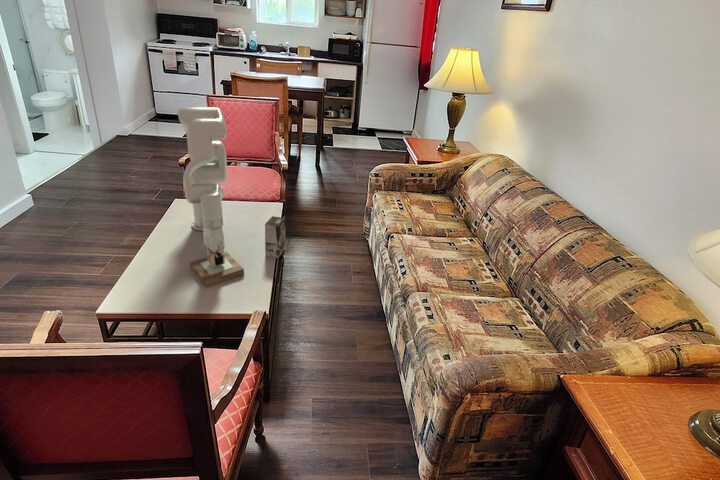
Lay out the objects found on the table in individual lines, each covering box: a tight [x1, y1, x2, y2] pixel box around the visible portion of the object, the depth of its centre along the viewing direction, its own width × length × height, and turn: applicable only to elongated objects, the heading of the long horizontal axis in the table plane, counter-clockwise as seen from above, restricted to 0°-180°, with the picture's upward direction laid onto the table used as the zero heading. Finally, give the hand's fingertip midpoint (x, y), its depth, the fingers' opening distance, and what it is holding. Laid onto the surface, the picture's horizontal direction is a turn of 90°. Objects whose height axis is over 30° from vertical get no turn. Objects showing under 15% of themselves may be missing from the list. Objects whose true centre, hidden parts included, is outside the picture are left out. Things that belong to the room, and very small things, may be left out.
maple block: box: [206, 247, 225, 267], centre depth 174 cm, size 5×5×6 cm
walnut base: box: [189, 251, 245, 288], centre depth 176 cm, size 16×16×3 cm
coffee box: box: [264, 216, 286, 259], centre depth 191 cm, size 9×6×16 cm
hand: (216, 260), depth 175 cm, fingers open, 5 cm apart
